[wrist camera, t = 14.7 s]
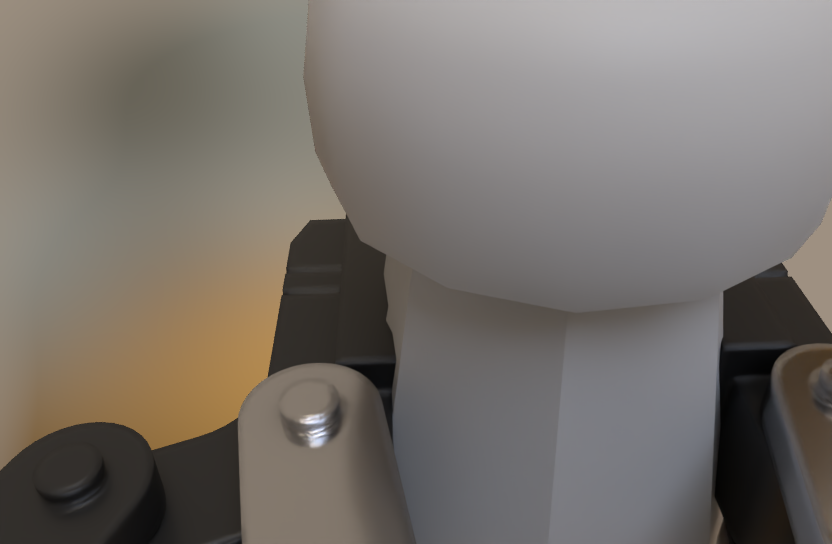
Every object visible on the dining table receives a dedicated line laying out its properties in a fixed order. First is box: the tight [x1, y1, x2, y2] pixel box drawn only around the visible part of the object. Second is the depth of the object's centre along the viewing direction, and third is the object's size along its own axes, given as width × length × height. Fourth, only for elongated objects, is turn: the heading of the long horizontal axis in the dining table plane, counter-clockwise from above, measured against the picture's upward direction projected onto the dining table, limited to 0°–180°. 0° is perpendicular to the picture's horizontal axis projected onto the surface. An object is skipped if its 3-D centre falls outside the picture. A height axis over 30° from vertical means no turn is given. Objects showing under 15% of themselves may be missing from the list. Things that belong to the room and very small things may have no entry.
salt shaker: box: [303, 0, 832, 544], centre depth 9 cm, size 6×6×13 cm
